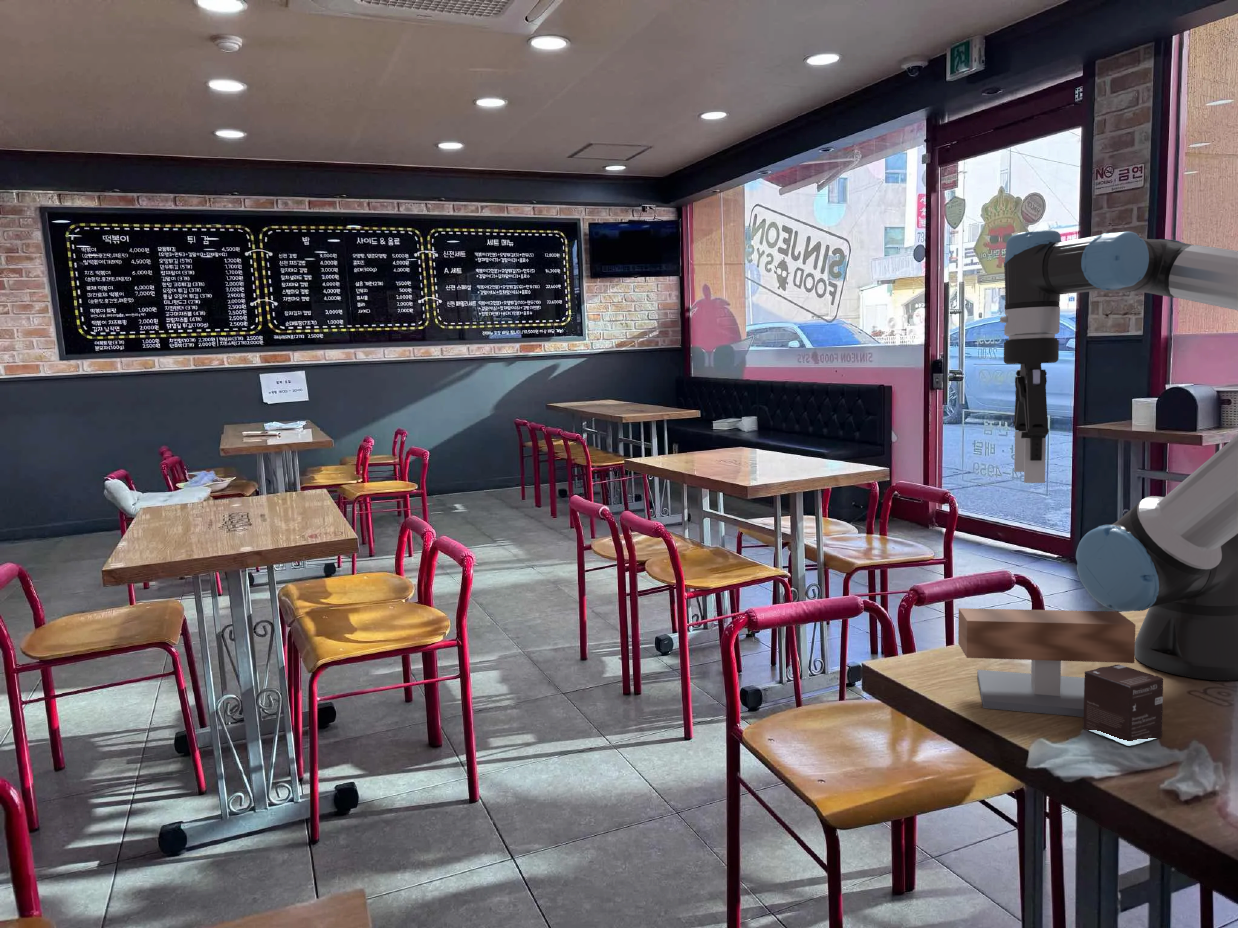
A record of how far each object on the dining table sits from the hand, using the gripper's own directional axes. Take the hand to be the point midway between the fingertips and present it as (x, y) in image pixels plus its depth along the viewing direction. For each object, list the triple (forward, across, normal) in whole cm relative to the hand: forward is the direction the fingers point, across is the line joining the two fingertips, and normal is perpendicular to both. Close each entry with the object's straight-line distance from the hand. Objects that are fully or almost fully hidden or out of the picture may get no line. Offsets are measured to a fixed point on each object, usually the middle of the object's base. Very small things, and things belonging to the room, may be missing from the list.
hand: (1028, 477), depth 132 cm
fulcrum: (+27, +22, 0) cm, 35 cm away
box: (+27, +32, +7) cm, 43 cm away
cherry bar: (+21, +22, 0) cm, 30 cm away
